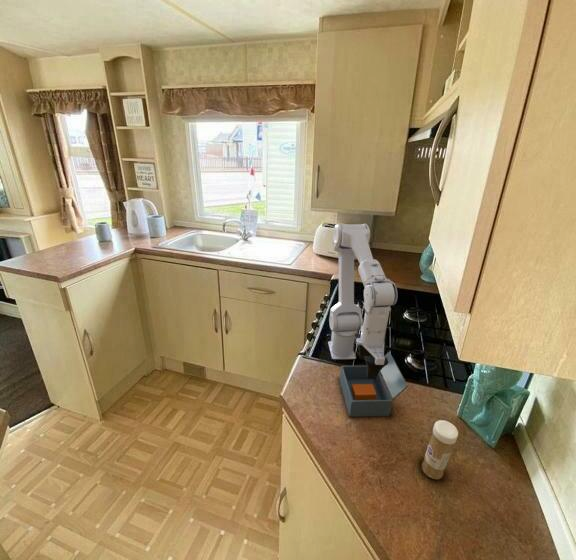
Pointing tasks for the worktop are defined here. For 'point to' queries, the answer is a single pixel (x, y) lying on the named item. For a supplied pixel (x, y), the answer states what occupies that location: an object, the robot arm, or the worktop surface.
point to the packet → (363, 392)
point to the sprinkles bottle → (439, 449)
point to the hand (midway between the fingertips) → (367, 368)
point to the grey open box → (364, 407)
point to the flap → (393, 377)
